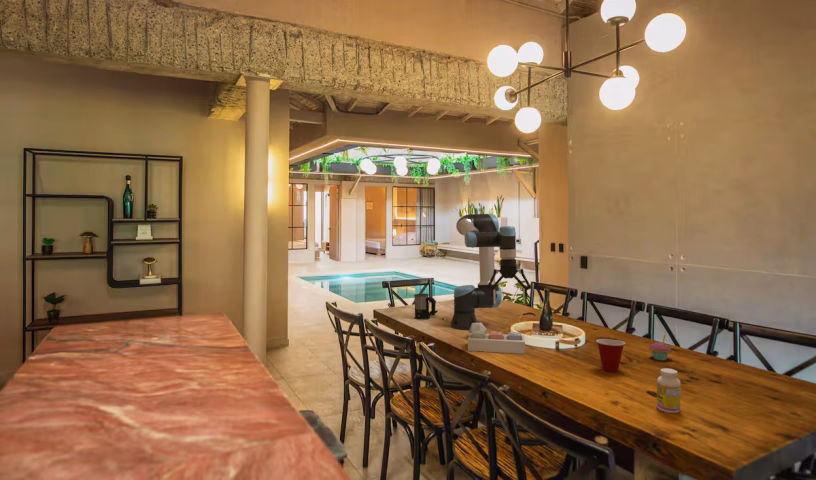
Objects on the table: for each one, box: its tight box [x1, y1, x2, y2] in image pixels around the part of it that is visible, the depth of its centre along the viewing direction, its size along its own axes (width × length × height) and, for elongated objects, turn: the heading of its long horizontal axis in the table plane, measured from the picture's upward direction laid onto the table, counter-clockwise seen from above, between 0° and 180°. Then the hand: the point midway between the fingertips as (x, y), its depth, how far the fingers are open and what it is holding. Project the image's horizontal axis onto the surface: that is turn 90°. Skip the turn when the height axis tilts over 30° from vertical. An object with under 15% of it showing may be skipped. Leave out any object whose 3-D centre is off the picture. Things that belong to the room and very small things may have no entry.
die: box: [468, 322, 488, 334], centre depth 237 cm, size 8×9×10 cm
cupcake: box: [648, 331, 672, 361], centre depth 199 cm, size 9×8×12 cm
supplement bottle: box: [656, 367, 682, 414], centre depth 147 cm, size 7×7×13 cm
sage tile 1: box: [472, 331, 486, 339], centre depth 219 cm, size 6×6×4 cm
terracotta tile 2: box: [489, 330, 504, 340], centre depth 217 cm, size 6×6×4 cm
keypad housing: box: [467, 333, 526, 355], centre depth 217 cm, size 12×26×6 cm, turn 78°
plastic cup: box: [595, 338, 626, 373], centre depth 185 cm, size 11×11×12 cm
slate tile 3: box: [507, 331, 523, 340], centre depth 215 cm, size 6×6×4 cm
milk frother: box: [413, 293, 439, 320], centre depth 287 cm, size 14×16×15 cm
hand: (509, 303), depth 216 cm, fingers open, 13 cm apart
